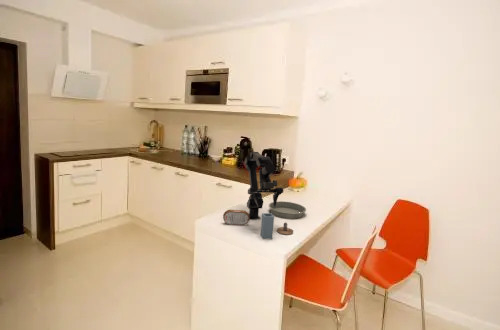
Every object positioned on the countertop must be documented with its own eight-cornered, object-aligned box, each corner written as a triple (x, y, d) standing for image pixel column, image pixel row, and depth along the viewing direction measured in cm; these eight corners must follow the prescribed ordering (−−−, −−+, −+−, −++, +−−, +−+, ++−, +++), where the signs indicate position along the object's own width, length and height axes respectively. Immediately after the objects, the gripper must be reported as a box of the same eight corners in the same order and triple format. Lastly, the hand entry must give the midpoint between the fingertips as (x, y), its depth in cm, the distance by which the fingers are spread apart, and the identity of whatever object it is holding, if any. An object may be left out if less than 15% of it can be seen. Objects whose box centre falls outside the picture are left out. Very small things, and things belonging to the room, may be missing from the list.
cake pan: (275, 220, 176) (276, 213, 175) (263, 207, 199) (263, 201, 198) (312, 219, 182) (313, 212, 182) (296, 207, 206) (296, 201, 205)
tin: (249, 224, 166) (250, 210, 165) (249, 226, 163) (250, 212, 161) (222, 222, 165) (223, 208, 164) (222, 224, 162) (223, 210, 161)
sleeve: (260, 235, 152) (262, 213, 150) (269, 234, 153) (271, 213, 151) (262, 239, 147) (264, 216, 145) (272, 238, 148) (274, 216, 146)
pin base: (274, 228, 161) (274, 219, 161) (288, 228, 164) (289, 219, 163) (280, 235, 153) (281, 226, 152) (295, 234, 156) (296, 225, 155)
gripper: (252, 174, 149) (253, 204, 144) (286, 174, 153) (288, 204, 149) (246, 179, 159) (248, 207, 154) (278, 179, 164) (280, 207, 159)
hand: (266, 206), depth 154 cm, fingers open, 9 cm apart
